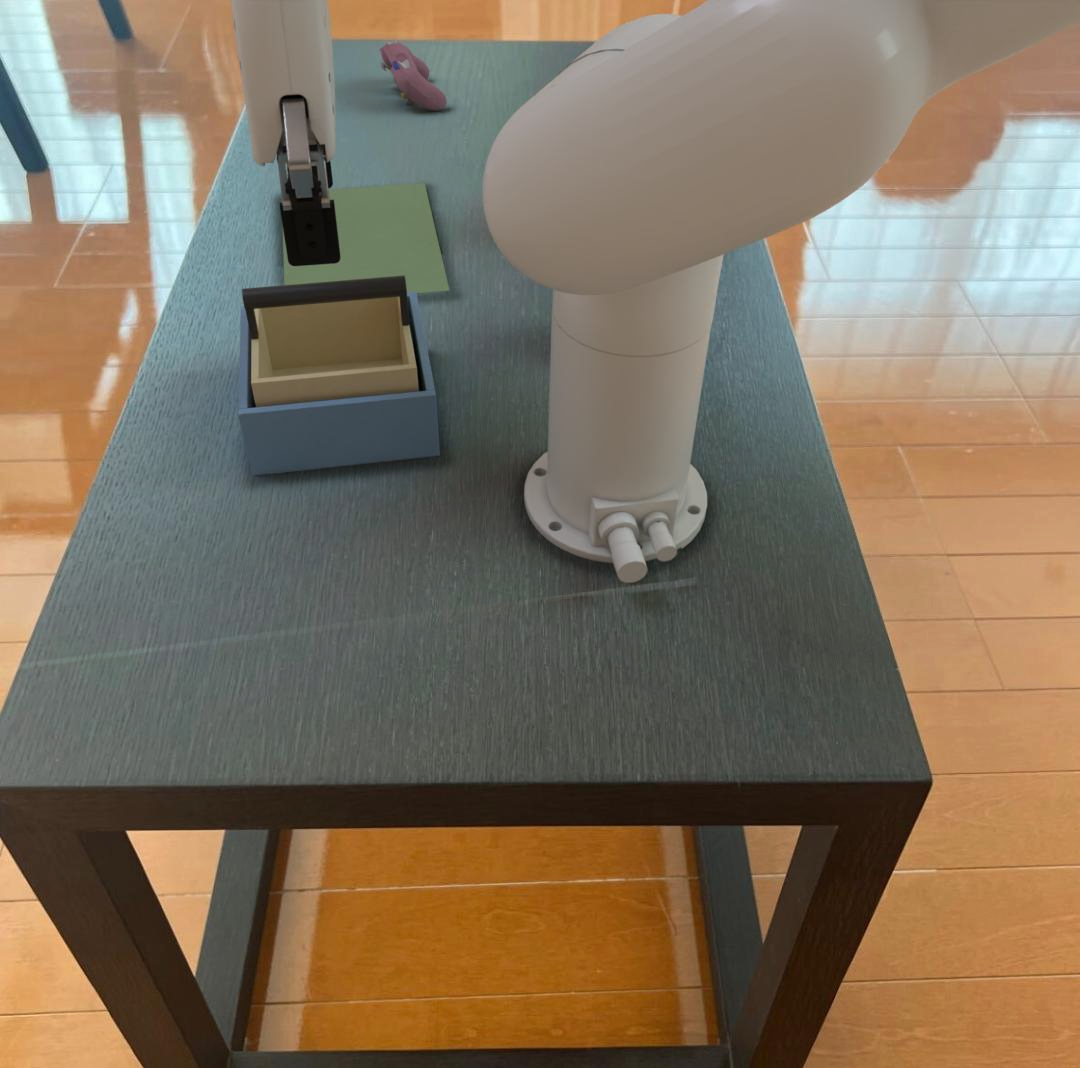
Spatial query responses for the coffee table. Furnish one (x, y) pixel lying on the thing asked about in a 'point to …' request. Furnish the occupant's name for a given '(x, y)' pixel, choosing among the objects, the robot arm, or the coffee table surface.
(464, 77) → the coffee table surface
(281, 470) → the blue bin
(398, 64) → the pink curved piece
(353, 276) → the mat
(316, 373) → the cream bin
